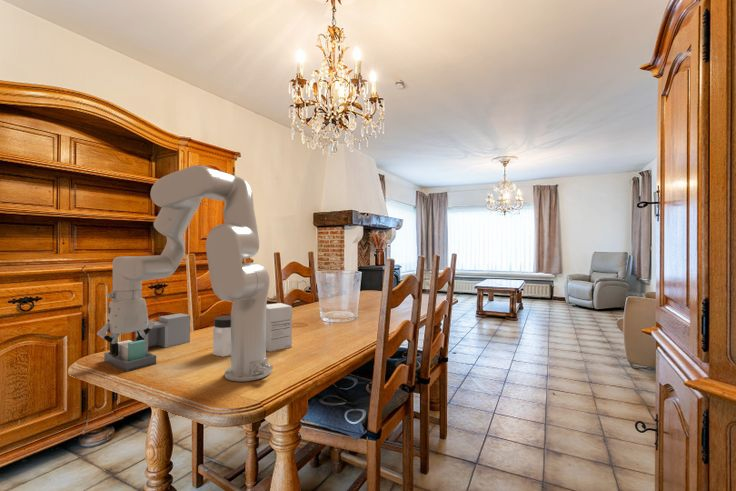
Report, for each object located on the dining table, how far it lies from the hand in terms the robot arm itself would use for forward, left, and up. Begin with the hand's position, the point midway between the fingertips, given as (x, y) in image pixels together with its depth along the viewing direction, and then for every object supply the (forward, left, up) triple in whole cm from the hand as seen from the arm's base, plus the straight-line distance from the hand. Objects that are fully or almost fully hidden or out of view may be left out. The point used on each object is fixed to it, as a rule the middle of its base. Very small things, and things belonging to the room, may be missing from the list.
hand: (127, 352), depth 108 cm
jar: (-18, -23, -3) cm, 29 cm away
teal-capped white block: (-1, 0, -2) cm, 2 cm away
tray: (-2, 0, -3) cm, 3 cm away
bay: (+9, -15, -3) cm, 17 cm away
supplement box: (-26, -37, -3) cm, 45 cm away
